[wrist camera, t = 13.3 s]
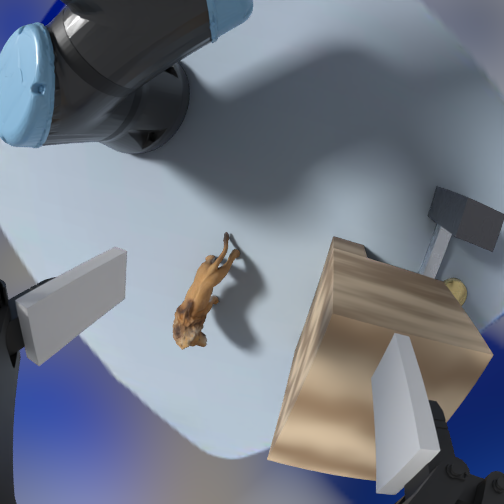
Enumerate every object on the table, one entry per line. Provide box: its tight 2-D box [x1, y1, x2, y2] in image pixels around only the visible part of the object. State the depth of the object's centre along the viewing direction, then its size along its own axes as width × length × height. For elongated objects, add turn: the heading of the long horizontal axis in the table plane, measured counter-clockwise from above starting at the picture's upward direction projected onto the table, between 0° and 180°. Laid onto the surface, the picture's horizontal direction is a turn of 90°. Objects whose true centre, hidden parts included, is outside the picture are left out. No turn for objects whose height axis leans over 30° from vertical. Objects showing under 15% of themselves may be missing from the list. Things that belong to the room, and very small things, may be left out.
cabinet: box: [267, 236, 493, 481], centre depth 32 cm, size 18×15×20 cm
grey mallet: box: [419, 186, 504, 279], centre depth 32 cm, size 22×5×10 cm, turn 167°
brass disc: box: [444, 278, 467, 306], centre depth 36 cm, size 4×4×1 cm
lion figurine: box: [173, 232, 240, 350], centre depth 41 cm, size 15×5×9 cm, turn 164°
